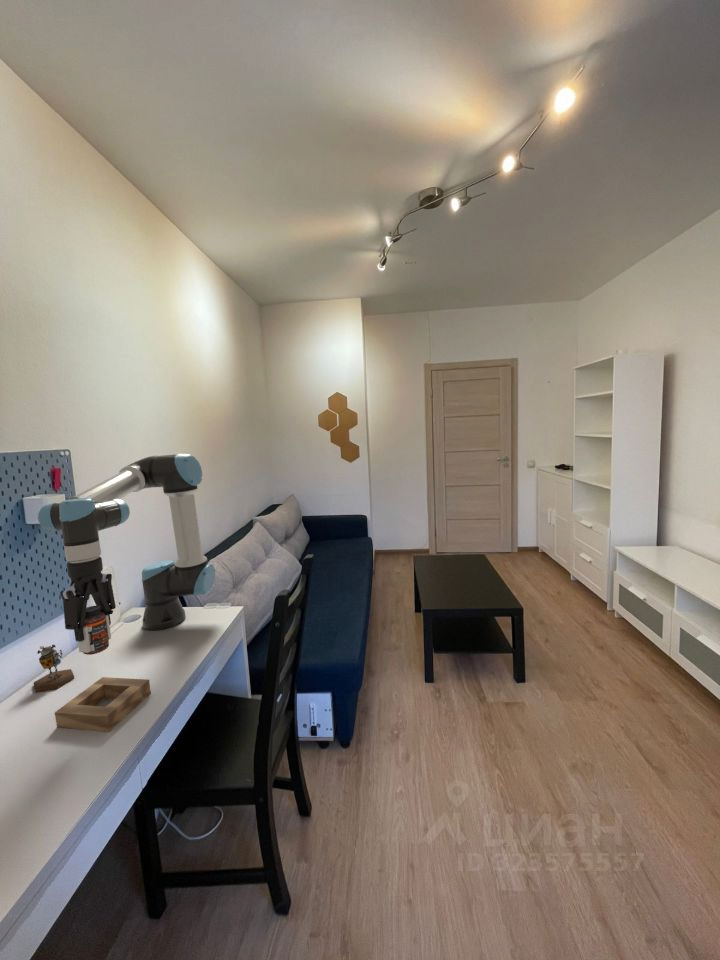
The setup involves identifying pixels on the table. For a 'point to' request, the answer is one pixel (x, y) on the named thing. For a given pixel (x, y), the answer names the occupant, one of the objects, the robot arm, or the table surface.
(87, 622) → the supplement bottle
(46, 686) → the robot figurine
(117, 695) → the socket block
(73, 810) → the table surface
